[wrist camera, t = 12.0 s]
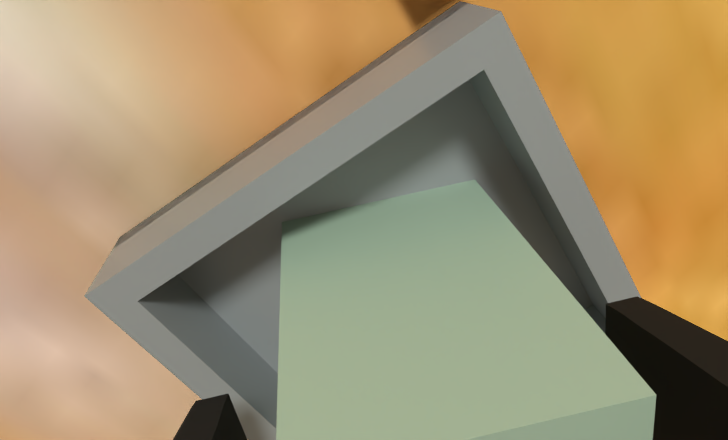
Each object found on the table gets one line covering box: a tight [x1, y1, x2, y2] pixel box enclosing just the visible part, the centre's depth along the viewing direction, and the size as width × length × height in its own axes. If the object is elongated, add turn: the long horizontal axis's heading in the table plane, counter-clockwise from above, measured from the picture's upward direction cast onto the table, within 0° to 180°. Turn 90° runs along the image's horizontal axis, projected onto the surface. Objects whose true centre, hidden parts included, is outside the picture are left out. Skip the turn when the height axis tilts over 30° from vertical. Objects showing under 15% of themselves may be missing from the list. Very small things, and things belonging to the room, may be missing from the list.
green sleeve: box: [276, 180, 656, 440], centre depth 10 cm, size 5×5×7 cm
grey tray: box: [85, 1, 641, 440], centre depth 13 cm, size 9×9×2 cm
